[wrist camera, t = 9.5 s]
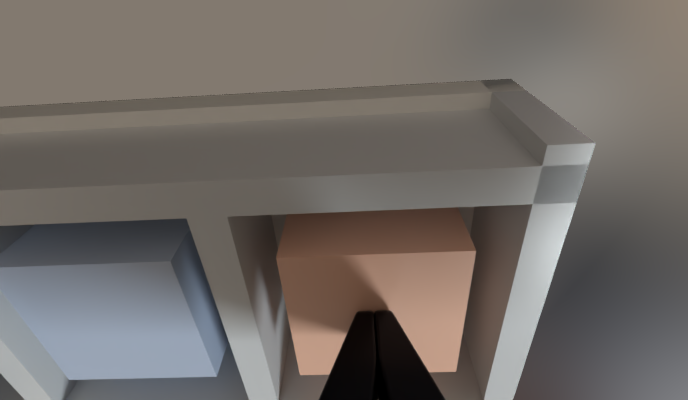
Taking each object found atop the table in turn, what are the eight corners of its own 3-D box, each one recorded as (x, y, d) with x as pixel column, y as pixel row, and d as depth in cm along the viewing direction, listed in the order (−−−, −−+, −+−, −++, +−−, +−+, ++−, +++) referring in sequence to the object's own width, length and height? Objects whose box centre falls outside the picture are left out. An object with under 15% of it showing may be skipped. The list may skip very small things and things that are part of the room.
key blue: (114, 312, 13) (68, 379, 11) (55, 207, 10) (-17, 267, 8) (238, 308, 12) (216, 376, 10) (206, 200, 10) (170, 261, 8)
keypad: (-188, 334, 16) (-334, 436, 12) (-442, 131, 11) (-793, 208, 8) (469, 315, 15) (505, 423, 11) (511, 78, 10) (596, 143, 6)
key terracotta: (308, 306, 12) (300, 375, 10) (290, 197, 10) (275, 257, 8) (438, 303, 12) (456, 371, 10) (450, 190, 10) (476, 250, 8)
